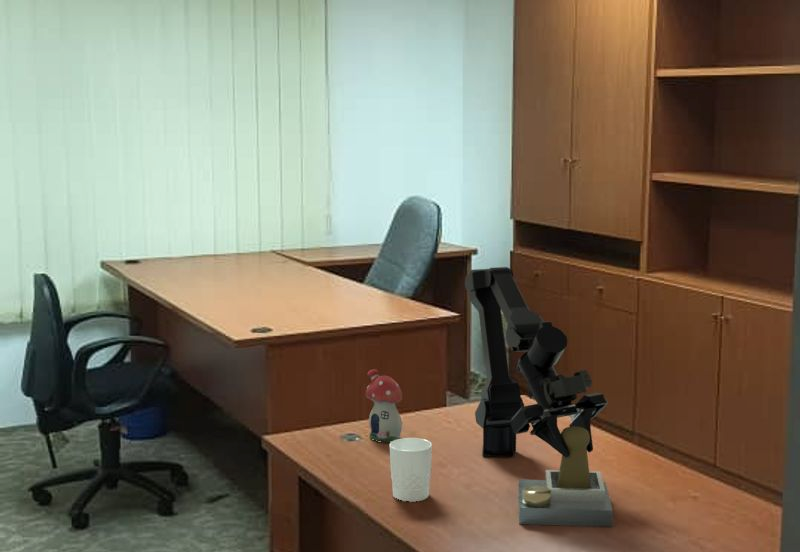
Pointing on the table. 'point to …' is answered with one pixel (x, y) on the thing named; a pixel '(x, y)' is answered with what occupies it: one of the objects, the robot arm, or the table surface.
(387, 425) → the decorative ornament
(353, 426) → the table surface
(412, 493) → the white cup
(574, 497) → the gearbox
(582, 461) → the olive knobbed post
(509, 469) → the table surface
